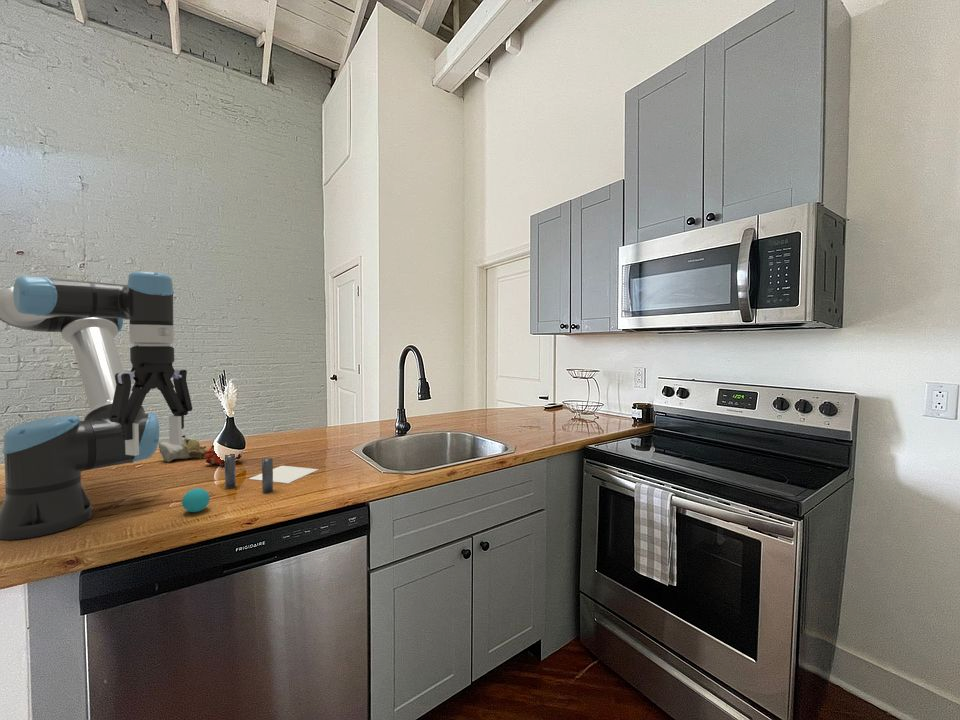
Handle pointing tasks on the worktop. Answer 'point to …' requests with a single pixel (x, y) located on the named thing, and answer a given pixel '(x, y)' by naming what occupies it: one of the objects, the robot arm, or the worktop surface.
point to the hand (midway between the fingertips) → (155, 449)
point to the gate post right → (267, 475)
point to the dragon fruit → (214, 457)
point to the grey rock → (181, 449)
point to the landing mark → (287, 474)
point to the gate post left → (230, 471)
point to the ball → (195, 500)
